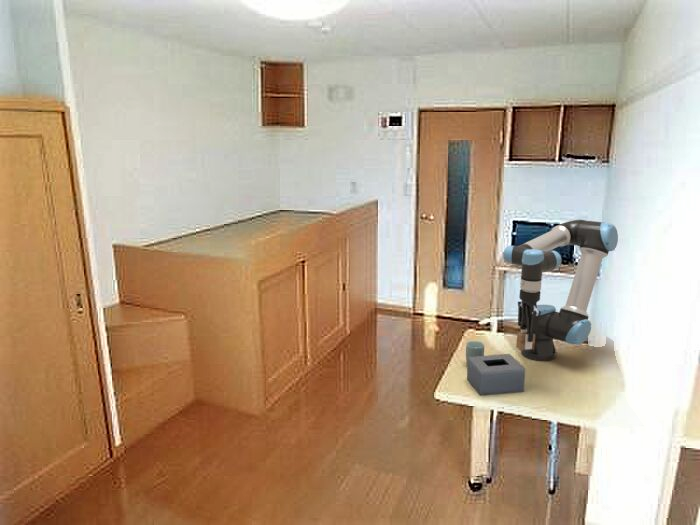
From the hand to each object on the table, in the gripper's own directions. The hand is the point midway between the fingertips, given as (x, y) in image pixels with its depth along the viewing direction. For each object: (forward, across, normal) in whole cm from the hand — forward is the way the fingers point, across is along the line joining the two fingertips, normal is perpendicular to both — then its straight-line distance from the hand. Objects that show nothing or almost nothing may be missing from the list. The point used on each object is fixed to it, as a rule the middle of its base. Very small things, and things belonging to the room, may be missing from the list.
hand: (525, 346), depth 203 cm
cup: (+17, -22, -11) cm, 30 cm away
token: (+1, 0, 0) cm, 1 cm away
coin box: (+17, -3, -11) cm, 20 cm away
